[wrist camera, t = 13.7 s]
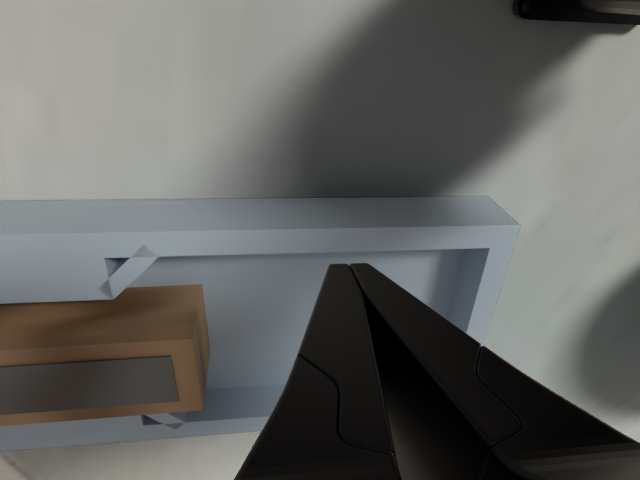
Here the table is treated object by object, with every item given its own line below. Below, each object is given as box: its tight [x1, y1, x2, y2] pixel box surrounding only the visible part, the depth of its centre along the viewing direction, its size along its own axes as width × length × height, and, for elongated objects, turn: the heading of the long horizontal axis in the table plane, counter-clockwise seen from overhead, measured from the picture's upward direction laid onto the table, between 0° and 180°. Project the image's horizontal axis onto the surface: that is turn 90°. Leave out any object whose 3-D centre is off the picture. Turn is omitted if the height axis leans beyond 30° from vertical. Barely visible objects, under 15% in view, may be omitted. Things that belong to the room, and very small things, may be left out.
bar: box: [0, 284, 210, 426], centre depth 21 cm, size 10×4×4 cm, turn 88°
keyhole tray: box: [0, 196, 521, 452], centre depth 23 cm, size 26×13×3 cm, turn 87°
